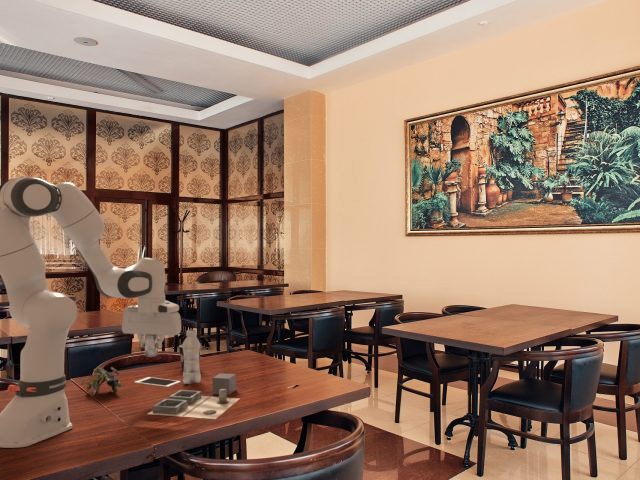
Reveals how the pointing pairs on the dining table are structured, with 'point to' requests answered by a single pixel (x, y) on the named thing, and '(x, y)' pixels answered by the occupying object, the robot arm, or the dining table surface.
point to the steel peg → (151, 345)
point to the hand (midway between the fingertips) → (151, 347)
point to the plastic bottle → (191, 358)
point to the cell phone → (157, 382)
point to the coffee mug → (183, 356)
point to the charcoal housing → (224, 383)
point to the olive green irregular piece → (106, 377)
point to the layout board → (194, 405)
